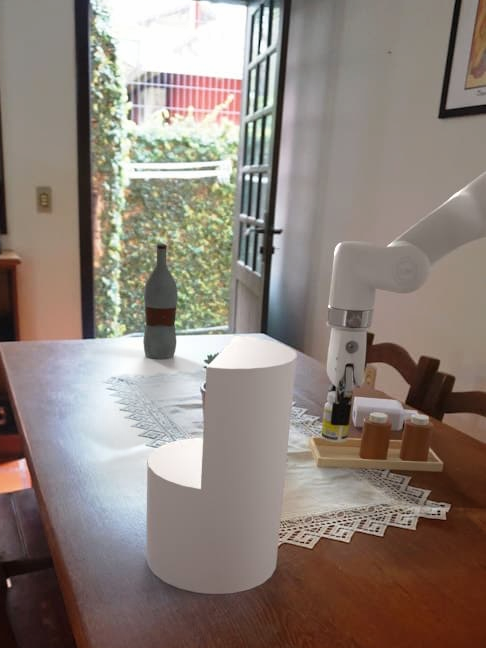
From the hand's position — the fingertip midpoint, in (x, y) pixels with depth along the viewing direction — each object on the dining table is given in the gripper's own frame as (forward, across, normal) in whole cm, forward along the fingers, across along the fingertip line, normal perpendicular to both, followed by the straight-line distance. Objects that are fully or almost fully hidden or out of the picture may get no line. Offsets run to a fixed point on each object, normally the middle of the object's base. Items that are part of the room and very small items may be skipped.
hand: (336, 418), depth 123 cm
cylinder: (+8, -38, +22) cm, 45 cm away
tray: (+8, 0, -8) cm, 11 cm away
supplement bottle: (+4, 0, 0) cm, 4 cm away
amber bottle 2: (+7, 0, -15) cm, 17 cm away
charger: (+8, +20, -16) cm, 26 cm away
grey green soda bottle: (+8, +73, +36) cm, 82 cm away
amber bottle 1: (+7, 0, -8) cm, 10 cm away
